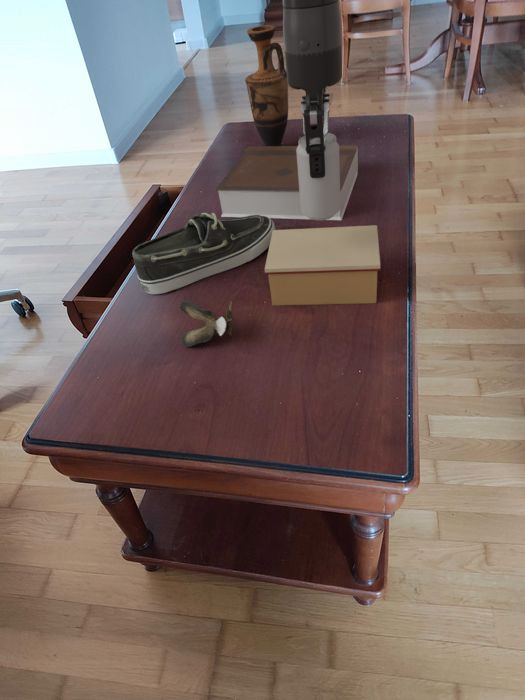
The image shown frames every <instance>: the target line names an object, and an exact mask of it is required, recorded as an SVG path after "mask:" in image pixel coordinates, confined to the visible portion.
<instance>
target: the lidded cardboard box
mask: <svg viewBox="0 0 525 700" xmlns="http://www.w3.org/2000/svg"><path fill="white" fill-rule="evenodd" d="M379 243H380V242H379V231H378V225H377V224H376V225H375V224H374V225H355V226H353V225H352V226H351V225H350V226H333V227H332V226H331V227H312V228H311V227H310V228H309V227H308V228H291V229H276V230H273V232H272V236H271V241H270V246H269V247H268V251H267V256H266V260H265V265H264V275H268V284H269V290H270V297H271V305H272V306H315V305H355V304H356V305H359V304H361V305H363V304H377V298H378V297H377V296H378V295H377V293H378V272H380V271H381V270H382V269H381V256H380V255H381V254H380V245H379Z"/></svg>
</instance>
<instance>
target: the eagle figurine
mask: <svg viewBox="0 0 525 700" xmlns="http://www.w3.org/2000/svg"><path fill="white" fill-rule="evenodd" d="M229 302H230V303H229V307H228V308H226V309H225V314H226V315H225V317H223V316H220V317H218V318H216V316H217V315H216V314H215V313H214V312H213V311H211V310H210V309H208V308H207V309H205V308H202V307H201V306H199V305H198V304H197V303H195V302H194V301H192V300H182V301H181V302H180V303H179V306H178V308H179V309H180V310H181V311H182V312H183V314H186V315H188V316H190V317H191V318H192V319H194V320H196V321H200V322H202V323H205V325H204V326H200V327H198V328H194V329H192V330H189V331H186V332H185V333H184V334H183V336H181V337H180V340H179V341H180V344H182V345H183V346H184V347H186V348H190V347H193V346H196V345H198V344H202V343H207V342H209V341H212V339H213V336H214V335H215V333H217V334H218V336H220V337H222V336H223V335H224V334H225V333H226V332H227V334H228V335H229V336H230V337H232V336H233V331H232V330H233V329H234V328H233V327H232V323H233V300H231V301H229Z"/></svg>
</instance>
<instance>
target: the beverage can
mask: <svg viewBox="0 0 525 700" xmlns="http://www.w3.org/2000/svg"><path fill="white" fill-rule="evenodd" d="M337 141H338V140H337V135H335V134H334V133H331V132H328V134H327V135H326V136H325V146H326V150H325V176H324V177H323V178H311V177H310V164H309V154H307V151H306V136H305V135H303V136H301V137H300V138H298V141H297V143H298V145H297V146H298V147H297V149H296V152H297V166H298V179H299V192H300V205H301V212H302V214H303V215H305V216H306V217H308V218H310V219H309V220H311V221H312V220H313V221H328V220H327V219H330V218H332V217H333V216H334V215H335V214H337V213H338V212H339V210H340V161H339V146H340V144H339V143H338V142H337ZM311 144H320V138H319V137H315V138H311Z"/></svg>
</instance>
